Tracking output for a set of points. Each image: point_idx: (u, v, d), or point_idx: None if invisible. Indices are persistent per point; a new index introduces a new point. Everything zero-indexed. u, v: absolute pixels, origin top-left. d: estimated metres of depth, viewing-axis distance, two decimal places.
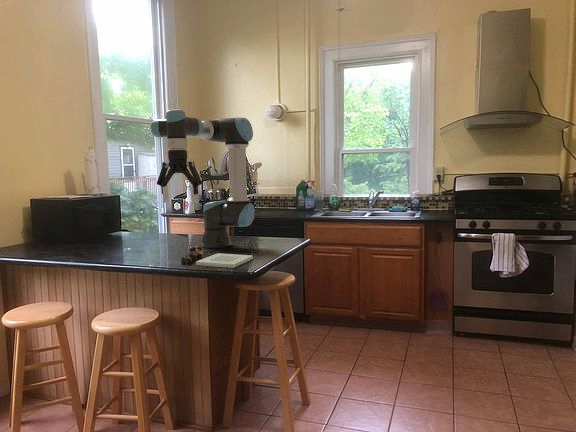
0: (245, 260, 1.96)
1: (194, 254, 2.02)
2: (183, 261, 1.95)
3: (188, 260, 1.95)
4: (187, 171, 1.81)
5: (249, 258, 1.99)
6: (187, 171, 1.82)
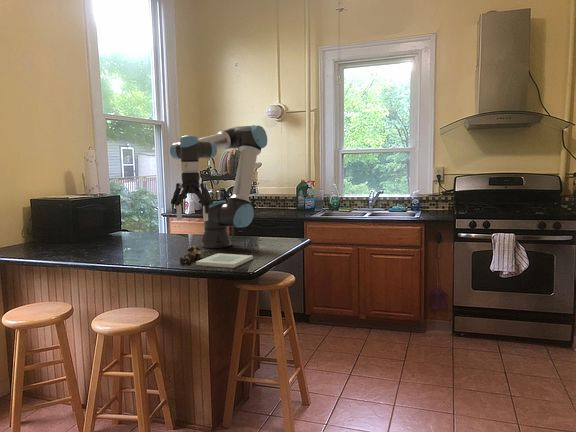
0: (245, 260, 1.96)
1: (192, 254, 2.02)
2: (182, 261, 1.95)
3: (187, 260, 1.95)
4: (199, 192, 1.97)
5: (249, 258, 1.99)
6: (199, 192, 1.97)
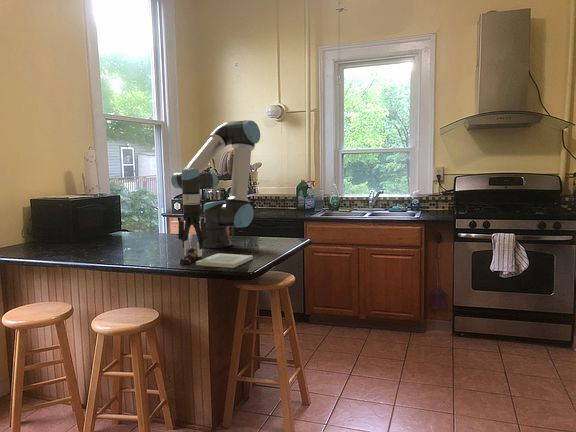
0: (245, 260, 1.96)
1: (193, 255, 2.01)
2: (182, 262, 1.94)
3: (187, 261, 1.94)
4: (198, 225, 1.99)
5: (249, 258, 1.99)
6: (198, 225, 1.99)
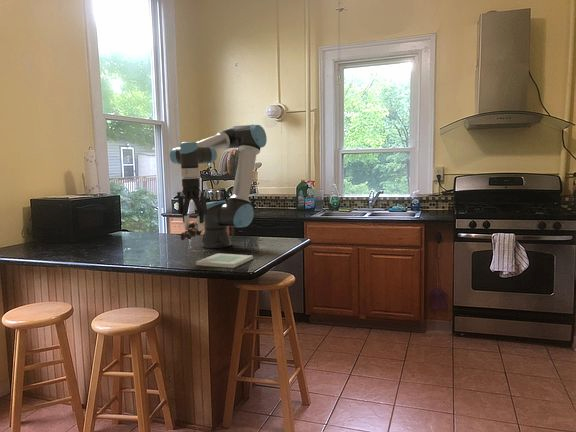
0: (245, 260, 1.96)
1: (193, 230, 2.00)
2: (182, 237, 1.93)
3: (188, 236, 1.93)
4: (198, 200, 1.98)
5: (249, 258, 1.99)
6: (198, 199, 1.98)
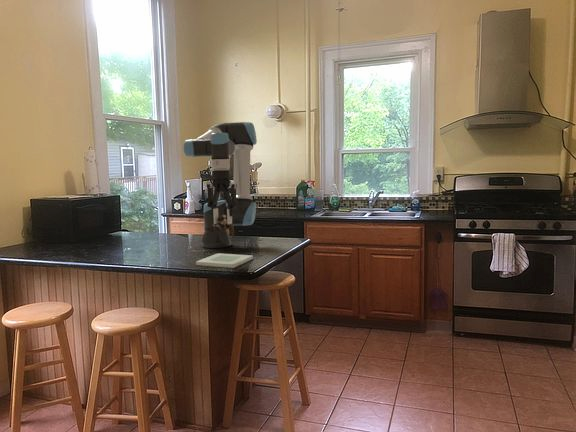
0: (245, 260, 1.96)
1: (222, 223, 1.95)
2: (212, 230, 1.88)
3: (217, 228, 1.88)
4: (228, 192, 1.93)
5: (249, 258, 1.99)
6: (228, 192, 1.93)
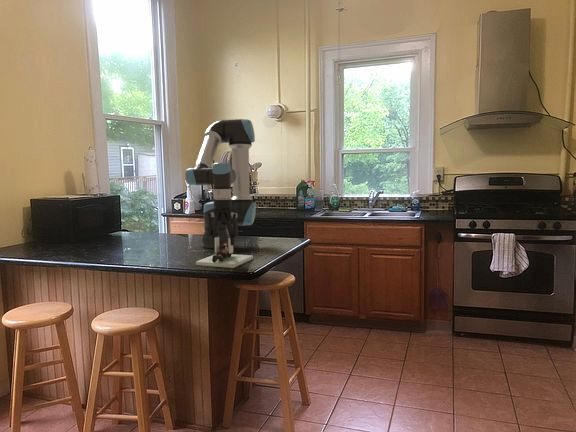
0: (245, 260, 1.96)
1: (224, 252, 1.96)
2: (214, 259, 1.89)
3: (219, 258, 1.89)
4: (229, 221, 1.94)
5: (249, 258, 1.99)
6: (229, 221, 1.94)
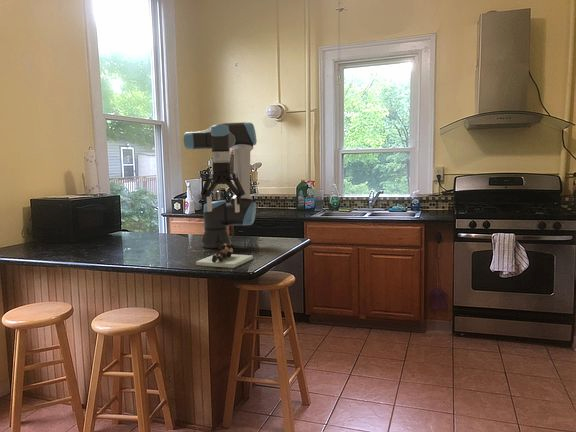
0: (245, 260, 1.96)
1: (224, 252, 1.96)
2: (214, 259, 1.89)
3: (219, 258, 1.89)
4: (230, 182, 1.92)
5: (249, 258, 1.99)
6: (230, 182, 1.92)
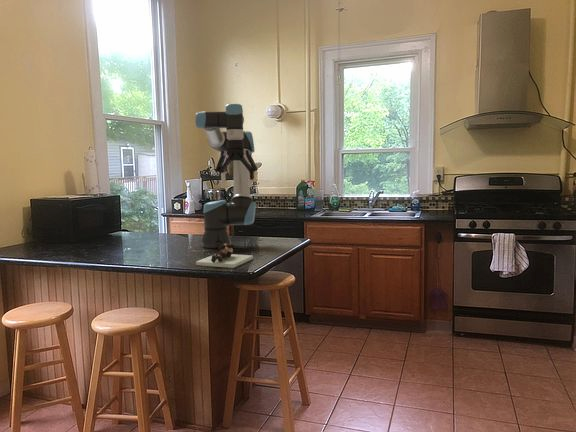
0: (245, 260, 1.96)
1: (224, 252, 1.96)
2: (213, 259, 1.89)
3: (219, 258, 1.89)
4: (244, 159, 2.03)
5: (249, 258, 1.99)
6: (244, 159, 2.03)
